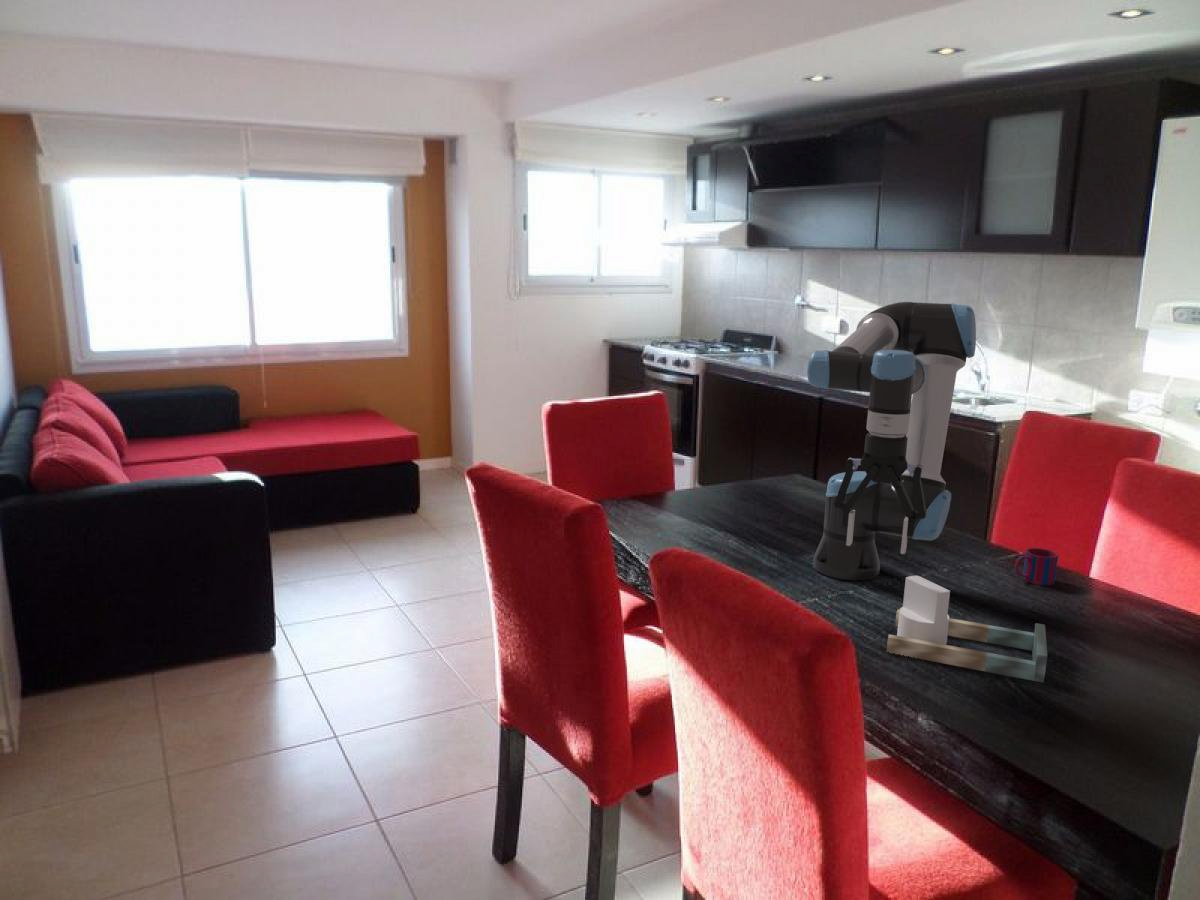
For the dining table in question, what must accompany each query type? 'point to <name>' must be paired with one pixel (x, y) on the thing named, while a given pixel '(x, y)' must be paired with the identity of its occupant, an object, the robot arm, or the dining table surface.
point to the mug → (1038, 566)
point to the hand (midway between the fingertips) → (875, 547)
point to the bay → (978, 658)
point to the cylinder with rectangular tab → (924, 611)
